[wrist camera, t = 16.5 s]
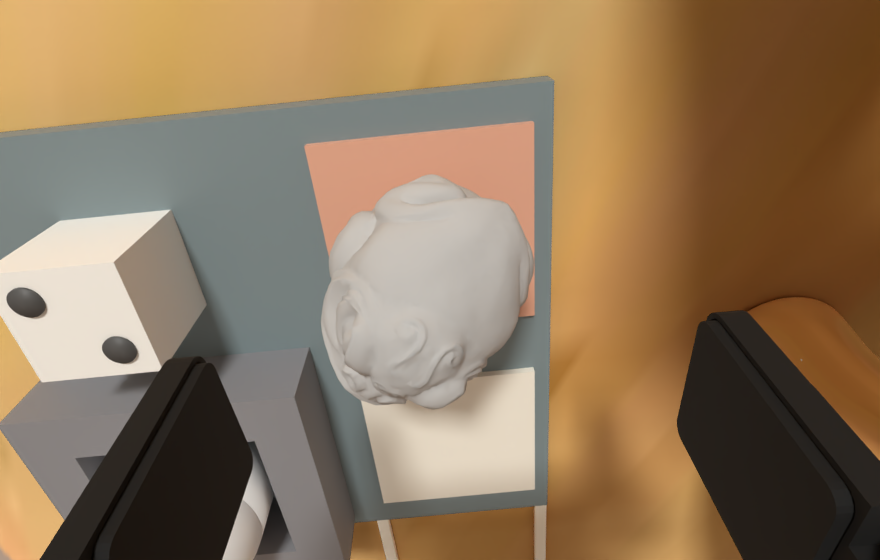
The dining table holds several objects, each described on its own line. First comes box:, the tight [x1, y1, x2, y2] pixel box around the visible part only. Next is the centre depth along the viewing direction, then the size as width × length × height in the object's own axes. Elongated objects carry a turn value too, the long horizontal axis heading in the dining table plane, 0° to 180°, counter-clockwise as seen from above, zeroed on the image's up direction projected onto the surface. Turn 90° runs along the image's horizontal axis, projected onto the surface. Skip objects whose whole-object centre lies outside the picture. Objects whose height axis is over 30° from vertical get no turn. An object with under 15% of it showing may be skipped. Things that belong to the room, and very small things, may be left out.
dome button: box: [222, 441, 274, 560], centre depth 21 cm, size 6×6×6 cm
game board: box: [0, 76, 554, 560], centre depth 23 cm, size 31×21×5 cm
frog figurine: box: [321, 174, 534, 410], centre depth 16 cm, size 6×7×7 cm
